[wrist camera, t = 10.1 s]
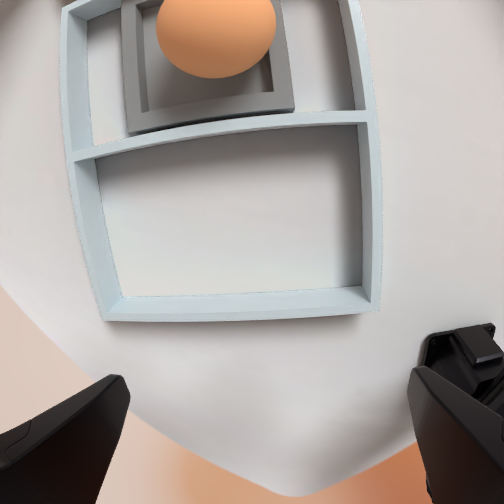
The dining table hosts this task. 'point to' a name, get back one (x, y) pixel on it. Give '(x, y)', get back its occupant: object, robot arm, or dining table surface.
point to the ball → (215, 35)
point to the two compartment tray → (84, 153)
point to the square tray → (194, 78)
